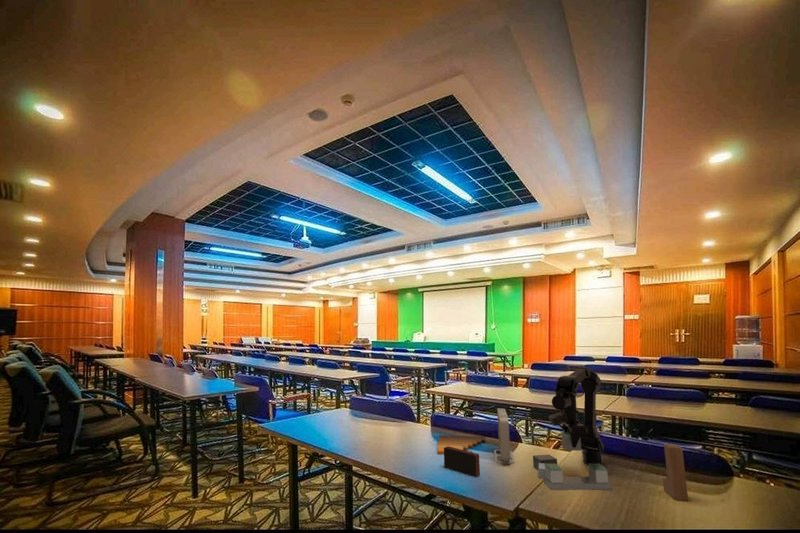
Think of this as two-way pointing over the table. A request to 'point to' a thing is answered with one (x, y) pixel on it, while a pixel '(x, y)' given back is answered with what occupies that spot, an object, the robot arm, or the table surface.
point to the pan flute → (463, 440)
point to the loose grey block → (543, 460)
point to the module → (569, 442)
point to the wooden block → (675, 473)
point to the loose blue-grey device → (541, 470)
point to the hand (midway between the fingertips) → (571, 445)
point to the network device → (503, 439)
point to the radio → (461, 461)
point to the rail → (577, 478)
